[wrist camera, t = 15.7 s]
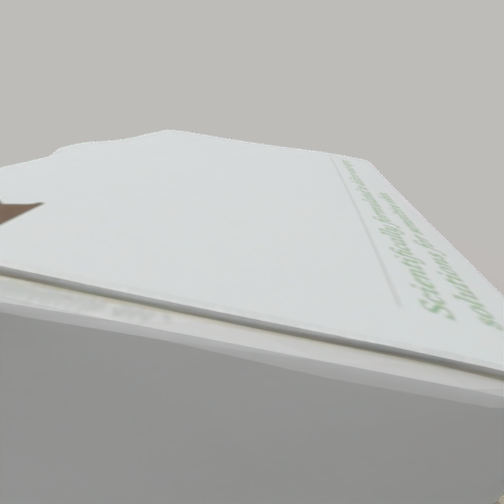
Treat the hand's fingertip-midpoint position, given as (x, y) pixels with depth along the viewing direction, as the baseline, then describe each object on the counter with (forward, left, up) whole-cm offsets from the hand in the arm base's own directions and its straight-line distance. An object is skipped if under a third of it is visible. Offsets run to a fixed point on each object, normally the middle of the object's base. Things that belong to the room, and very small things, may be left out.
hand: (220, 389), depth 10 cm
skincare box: (0, +1, -9) cm, 9 cm away
